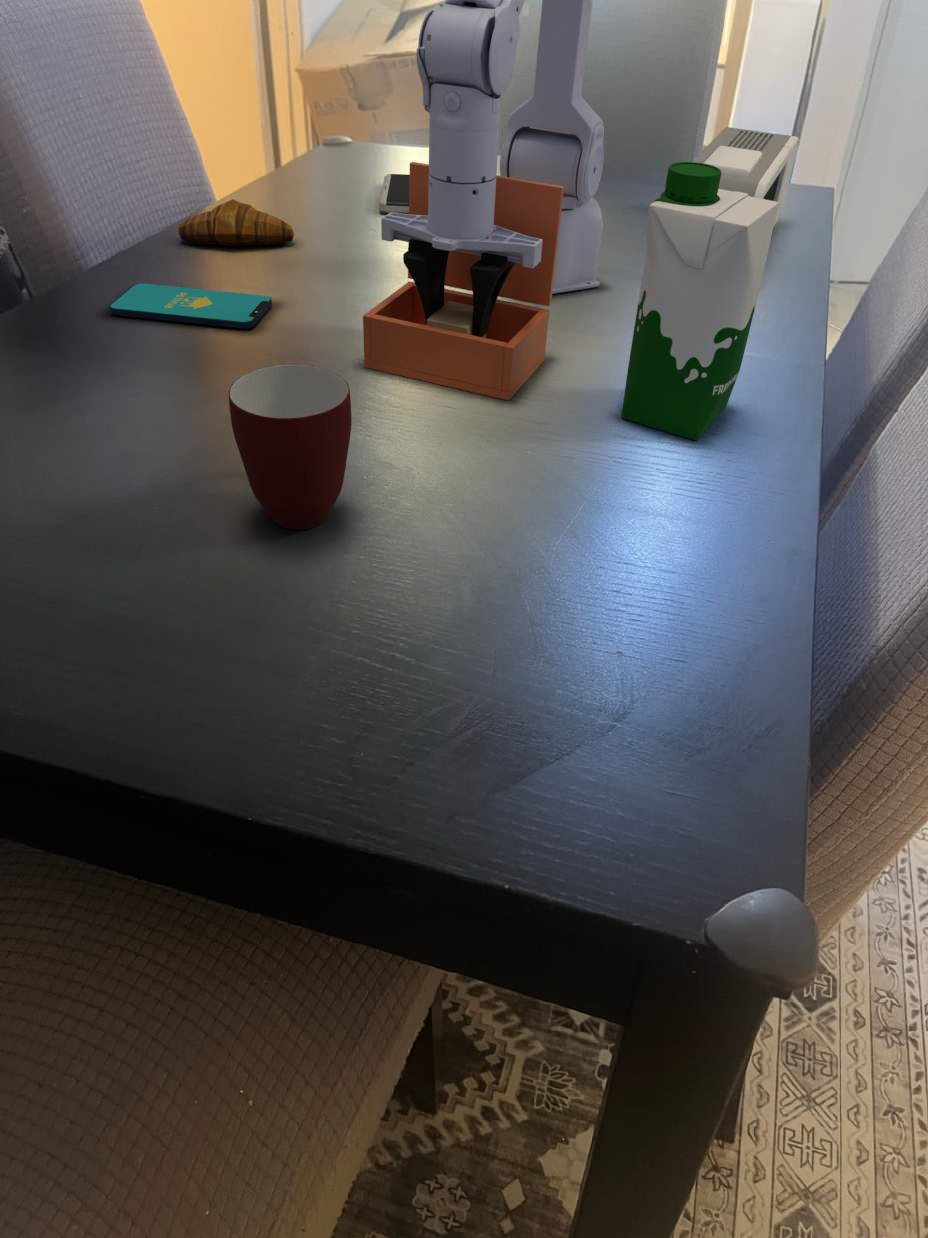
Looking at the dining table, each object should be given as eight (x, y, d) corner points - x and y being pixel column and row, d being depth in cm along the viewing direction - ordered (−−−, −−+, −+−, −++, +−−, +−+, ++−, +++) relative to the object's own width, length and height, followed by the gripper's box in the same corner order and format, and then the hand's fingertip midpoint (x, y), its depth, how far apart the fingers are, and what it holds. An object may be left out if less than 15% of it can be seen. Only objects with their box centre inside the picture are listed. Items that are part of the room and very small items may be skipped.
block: (465, 359, 87) (467, 327, 85) (426, 350, 88) (426, 319, 86) (486, 339, 91) (488, 308, 89) (448, 330, 92) (448, 300, 90)
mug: (251, 469, 74) (237, 348, 68) (355, 468, 75) (350, 348, 69) (238, 548, 66) (221, 419, 60) (355, 546, 67) (349, 418, 61)
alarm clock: (741, 290, 108) (766, 179, 101) (661, 275, 111) (680, 166, 103) (779, 223, 128) (802, 125, 120) (710, 211, 130) (729, 116, 123)
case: (508, 400, 85) (512, 347, 82) (364, 367, 89) (362, 315, 86) (544, 359, 92) (549, 309, 89) (408, 330, 96) (408, 280, 93)
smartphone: (137, 280, 101) (273, 294, 99) (138, 288, 101) (274, 302, 100) (106, 307, 95) (250, 322, 94) (108, 315, 96) (251, 330, 94)
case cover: (562, 187, 82) (564, 185, 82) (409, 162, 86) (412, 161, 86) (549, 306, 88) (551, 304, 89) (407, 278, 92) (410, 276, 93)
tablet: (585, 223, 124) (587, 209, 123) (378, 215, 124) (378, 201, 123) (575, 192, 135) (577, 179, 134) (384, 185, 134) (384, 171, 133)
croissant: (296, 234, 117) (293, 191, 114) (292, 253, 112) (289, 209, 108) (184, 232, 116) (178, 189, 113) (175, 251, 111) (168, 206, 107)
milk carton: (646, 382, 89) (687, 151, 76) (739, 410, 86) (798, 172, 73) (606, 419, 83) (643, 175, 70) (704, 449, 80) (761, 199, 67)
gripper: (363, 172, 79) (367, 330, 88) (527, 200, 75) (514, 362, 84) (401, 153, 84) (401, 304, 93) (556, 178, 80) (541, 333, 89)
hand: (456, 330), depth 88 cm, fingers closed on block, 4 cm apart
